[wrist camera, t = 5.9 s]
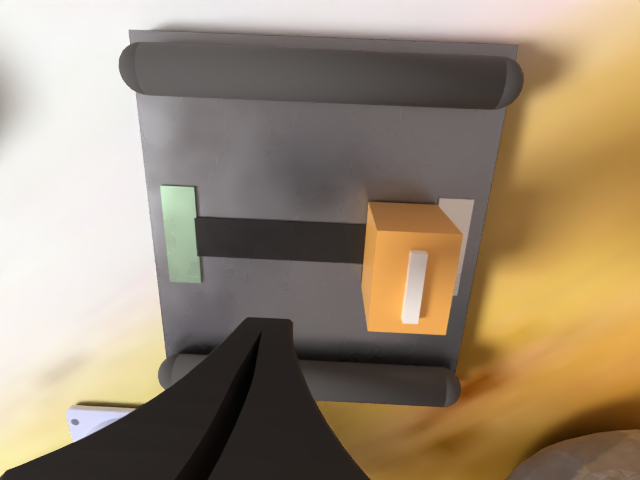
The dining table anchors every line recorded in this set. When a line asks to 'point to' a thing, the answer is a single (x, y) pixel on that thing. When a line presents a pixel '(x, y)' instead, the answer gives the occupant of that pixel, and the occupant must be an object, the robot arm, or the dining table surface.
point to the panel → (304, 205)
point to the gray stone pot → (585, 459)
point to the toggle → (409, 268)
